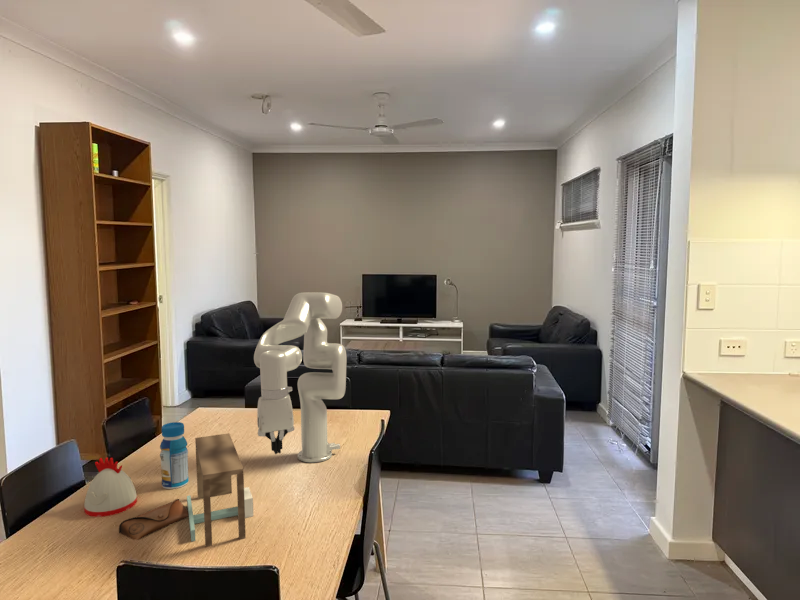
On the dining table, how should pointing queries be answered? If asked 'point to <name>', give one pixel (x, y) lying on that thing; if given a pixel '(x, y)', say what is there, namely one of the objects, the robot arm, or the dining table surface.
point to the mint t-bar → (219, 512)
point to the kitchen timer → (109, 491)
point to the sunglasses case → (153, 520)
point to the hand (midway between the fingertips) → (277, 452)
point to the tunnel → (218, 477)
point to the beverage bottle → (174, 456)
